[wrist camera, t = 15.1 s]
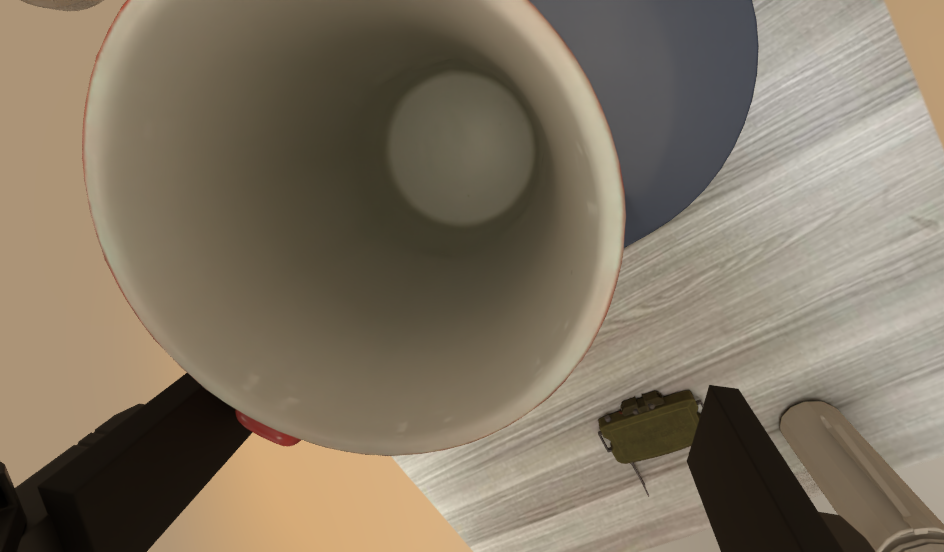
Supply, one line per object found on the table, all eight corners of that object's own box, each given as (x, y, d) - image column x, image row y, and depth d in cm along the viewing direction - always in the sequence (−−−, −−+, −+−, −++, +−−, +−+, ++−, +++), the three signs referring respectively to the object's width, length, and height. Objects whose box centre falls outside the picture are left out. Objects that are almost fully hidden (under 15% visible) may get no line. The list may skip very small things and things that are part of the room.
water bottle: (844, 436, 60) (1033, 652, 37) (778, 447, 62) (917, 658, 39) (836, 378, 57) (1033, 571, 34) (767, 392, 59) (908, 582, 36)
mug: (429, -24, 18) (161, -284, 5) (617, 115, 18) (770, 173, 6) (298, 233, 22) (2, 413, 10) (452, 333, 23) (352, 609, 11)
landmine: (696, 389, 57) (735, 477, 61) (690, 377, 60) (728, 462, 64) (590, 424, 61) (633, 503, 65) (588, 411, 64) (630, 488, 68)
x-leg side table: (452, 235, 58) (340, 406, 26) (384, 140, 55) (164, 204, 23) (645, 109, 49) (821, 138, 18) (577, -12, 46) (645, -238, 15)
